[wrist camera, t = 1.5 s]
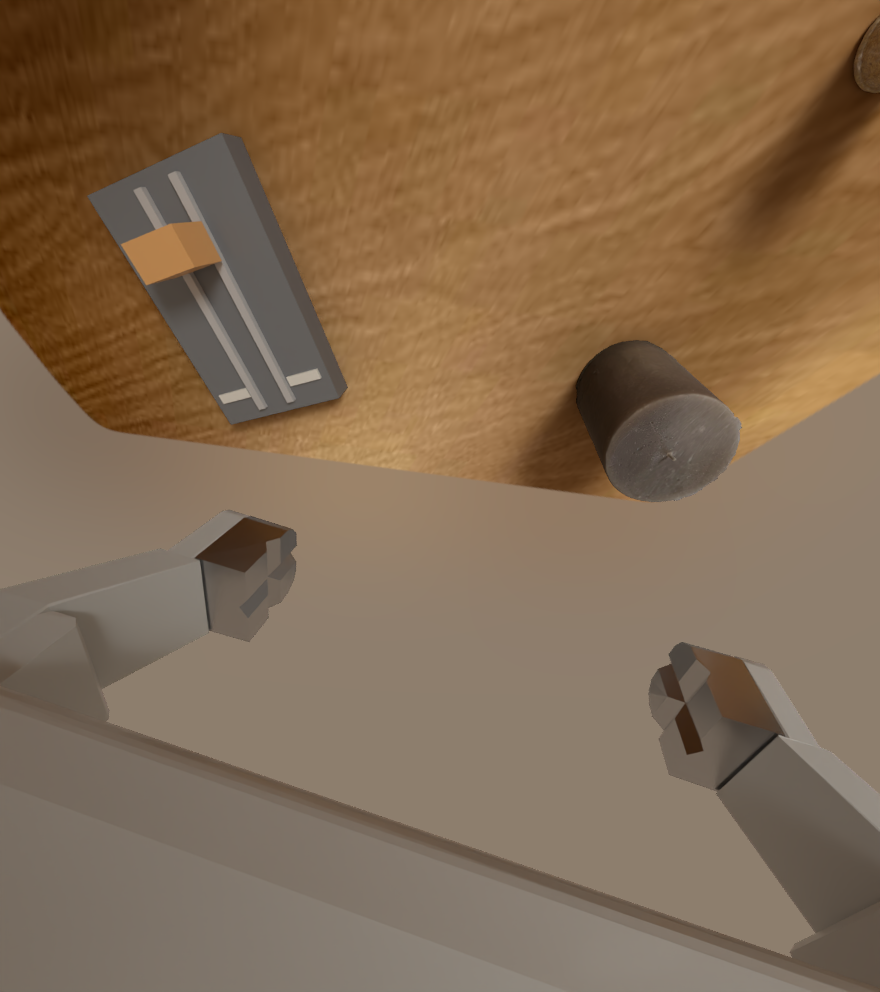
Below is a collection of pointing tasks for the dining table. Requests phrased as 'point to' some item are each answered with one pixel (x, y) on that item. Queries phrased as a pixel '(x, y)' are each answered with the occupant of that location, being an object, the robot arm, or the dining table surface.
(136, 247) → the fader tab
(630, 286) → the dining table surface
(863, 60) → the sprinkles bottle
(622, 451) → the pillar candle
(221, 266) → the fader console
